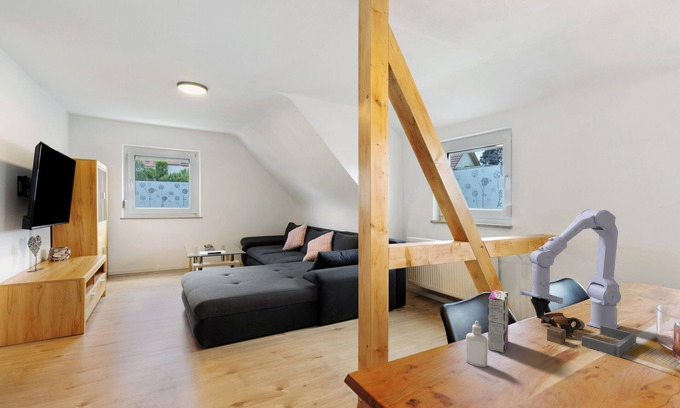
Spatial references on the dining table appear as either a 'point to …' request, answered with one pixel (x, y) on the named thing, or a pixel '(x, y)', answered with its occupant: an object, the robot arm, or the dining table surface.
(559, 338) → the walnut block
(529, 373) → the dining table surface
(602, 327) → the corral
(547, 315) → the pottery mug
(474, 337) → the eye dropper bottle
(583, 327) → the cork ball
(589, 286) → the robot arm
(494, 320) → the candy bar box
